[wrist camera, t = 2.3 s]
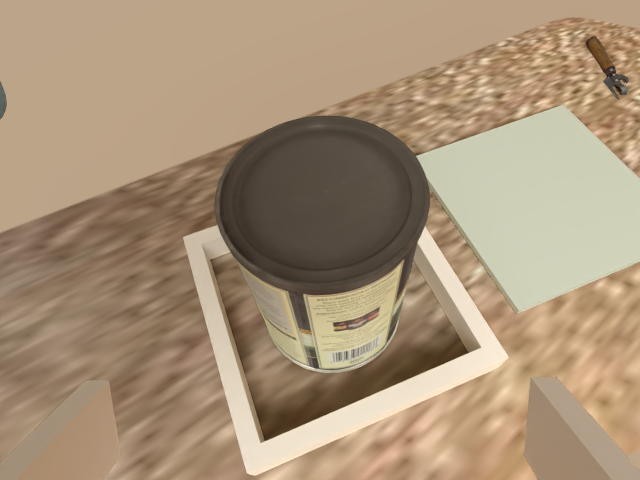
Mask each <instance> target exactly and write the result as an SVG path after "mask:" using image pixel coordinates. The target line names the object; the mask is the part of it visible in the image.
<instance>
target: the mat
mask: <svg viewBox="0 0 640 480" xmlns="http://www.w3.org/2000/svg"><path fill="white" fill-rule="evenodd" d="M416 157H417V159H418V160H419V162H420V164H421V166H422V168H423V170H424V172H425V175H426V178H427V181H428V186H429V188H430V189H431V191H432V192H433V193H434V195H435V196H436V198H437V199H438V201H439V202H440V204H441V205H442V207H443V208H444V209H445V211H446V212H447V214H448V215H449V217H450V218H451V220H452V221H453V223H454V224H455V226H456V227H457V228H458V230H459V231H460V233H461V234H462V236H463V237H464V239H465V240H466V242H467V243H468V245H469V246H470V247H471V249H472V250H473V252H474V253H475V255H476V256H477V258H478V259H479V261H480V262H481V263H482V265H483V266H484V268H485V269H486V271H487V272H488V274H489V275H490V277H491V278H492V280H493V281H494V282H495V284H496V285H497V287H498V288H499V290H500V291H501V293H502V294H503V296H504V297H505V298H506V300H507V301H508V303H509V304H510V306H511V307H512V309H513V310H514V312H515V313H516V314H518V313H520V312H523V311H525V310H527V309H530V308H532V307H534V306H537V305H539V304H542V303H544V302H546V301H549V300H551V299H553V298H556V297H558V296H560V295H563V294H565V293H567V292H570V291H572V290H574V289H577V288H579V287H581V286H584V285H586V284H588V283H591V282H593V281H595V280H598V279H600V278H602V277H605V276H607V275H610V274H612V273H614V272H617V271H619V270H621V269H624V268H626V267H628V266H631V265H633V264H635V263H638V262H640V179H639V178H638V177H637V176H636V175H635V174H634V173H633V172H632V171H631V170H630V169H629V168H628V167H627V166H626V165H625V164H624V163H623V162H622V161H621V160H620V159H619V158H618V157H617V156H616V155H615V154H614V153H612V152H611V151H610V150H609V149H608V148H607V147H606V146H605V145H604V144H603V143H602V142H601V141H600V140H599V139H598V138H597V137H596V136H595V135H594V134H593V133H592V132H591V131H590V130H589V129H588V128H587V127H586V126H585V125H584V124H582V123H581V122H580V121H579V120H578V119H577V118H576V117H575V116H574V115H573V114H572V113H571V112H570V111H569V110H568V109H567V108H566V107H565V106H564V105H561V106H558V107H555V108H552V109H549V110H546V111H543V112H541V113H538V114H535V115H532V116H529V117H526V118H523V119H520V120H518V121H515V122H512V123H509V124H506V125H503V126H500V127H498V128H495V129H492V130H489V131H486V132H483V133H480V134H478V135H475V136H472V137H469V138H466V139H463V140H460V141H458V142H455V143H452V144H449V145H446V146H443V147H440V148H437V149H435V150H432V151H429V152H426V153H423V154H420V155H417V156H416Z"/></svg>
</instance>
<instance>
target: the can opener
mask: <svg viewBox="0 0 640 480" xmlns="http://www.w3.org/2000/svg"><path fill="white" fill-rule="evenodd" d="M587 45H588V48H589V50H590V51H591V53H592V55H593V56H594V57H595V59H596V60H597V61H598V63H599V64H600V66H601V68H602V70H603V72H604V73H605V74H606V75H608V78H607V79H605V80H604V81H603V82H604V83H605V84H606V85H607V87H608V88H609V89H610V91H611V92H612V93H613V94H614V96H615V97H616V98H617V99H619V98H618V96H617V94H616V93H615V91H614V89H613V88H612V86H615V87H616V88H620V89H621V91H622V92H621V95H626V94H627V91H628V89H627V87H626V86H624V85H623V84H621V82H620V79H624V80H625V81H626V83H627V82H628V81H629V80H628V78H627V77H626V76H624V75H617V74H615V73H616V70H615V66H614V65H613V63H612V62H611V60H610V59H609V57H608V55H607V53H606V51H605V49H604V47H603V45H602V44H601V42H600V41H599V40H598V39H597V38H596V37H591V38H589V39H588V40H587ZM619 100H620V99H619Z"/></svg>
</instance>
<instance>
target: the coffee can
mask: <svg viewBox="0 0 640 480" xmlns="http://www.w3.org/2000/svg"><path fill="white" fill-rule="evenodd" d="M429 207H430V191H429V186H428V181H427V178H426V175H425V172H424V170H423V168H422V166H421V164H420V162H419V160H418V159H417V157H416V156H415V155H414V153H413V152H412V151H411V150H410V149H409V148H408V147H407V146H406V145H405V144H404V143H403V142H402V141H401V140H399V139H398V138H397V137H395V136H394V135H392V134H391V133H389V132H388V131H386V130H384V129H382V128H379V127H378V126H376V125H374V124H371V123H368V122H365V121H362V120H358V119H354V118H348V117H340V116H314V117H306V118H301V119H296V120H291V121H288V122H285V123H282V124H279V125H277V126H275V127H273V128H270V129H268V130H266V131H264V132H263V133H261V134H259V135H258V136H256V137H255V138H253V139H252V140H250V141H249V142H248V143H247V144H246V145H244V146H243V147H242V148H241V149H240V150H239V151H238V152H237V153H236V154H235V156H234V157H233V158H232V159H231V161H230V162H229V163H228V165H227V166H226V168H225V170H224V172H223V174H222V176H221V178H220V181H219V184H218V188H217V191H216V198H215V215H216V221H217V225H218V228H219V231H220V234H221V236H222V238H223V240H224V242H225V244H226V245H227V247H228V248H229V250H230V252H231V253H232V255H233V256H234V257H235V259H236V261H237V263H238V265H239V267H240V269H241V271H242V274H243V276H244V278H245V280H246V282H247V284H248V286H249V288H250V291H251V293H252V295H253V297H254V300H255V302H256V304H257V306H258V308H259V310H260V312H261V314H262V317H263V319H264V321H265V323H266V326H267V329H268V332H269V335H270V337H271V339H272V340H273V342H274V344H275V345H276V346H277V348H278V349H279V350H280V351H281V352H282V354H283V355H284V356H286V357H287V358H289V359H290V360H291V361H292V362H294V363H296V364H297V365H299V366H301V367H303V368H306V369H308V370H312V371H315V372H321V373H334V374H336V373H341V372H347V371H351V370H354V369H357V368H359V367H362V366H364V365H366V364H367V363H369V362H371V361H372V360H374V359H375V358H376V357H377V356H379V355H380V354H381V353H382V352H383V351H384V350H385V349H386V348H387V346H388V345H389V343H390V342H391V340H392V338H393V337H394V335H395V332H396V330H397V327H398V323H399V318H400V311H401V306H402V303H403V298H404V294H405V290H406V286H407V282H408V278H409V274H410V271H411V268H412V263H413V259H414V255H415V251H416V247H417V243H418V240H419V238H420V237H421V234H422V232H423V230H424V227H425V224H426V221H427V218H428V213H429Z"/></svg>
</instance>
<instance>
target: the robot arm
mask: <svg viewBox="0 0 640 480" xmlns="http://www.w3.org/2000/svg"><path fill="white" fill-rule="evenodd" d="M5 110H6V95H5V93H4V89H3V87H2V84H1V82H0V119H1V118H2V117H3V115H4V112H5ZM120 455H121V453H120V447H119V440H118V434H117V428H116V422H115V416H114V410H113V404H112V398H111V391H110V385H109V380H99V381H84V382H83V383H82V384H81V385H80V386H79V387H78V388H77V389H76V390H75V391H74V392H73V393H72V394H71V395H70V396H69V397H68V398H67V399H66V400H65V401H64V402H63V403H62V404H61V405H60V406H59V407H58V408H56V409H55V410H54V411H53V412H52V413H51V414H50V415H49V416H48V417H47V418H46V419H45V420H44V421H43V422H42V423H41V424H40V425H39V426H38V427H37V428H36V429H35V430H34V431H33V432H32V433H31V434H30V435H29V436H28V437H27V438H25V439H24V440H23V441H22V442H21V443H20V444H19V445H18V446H17V447H16V448H15V449H14V450H13V451H12V452H11V453H10V454H9V455H8V456H7V457H6V458H5V459H4V460H3V461H2V462H1V463H0V480H104V479H105V477H106V476H107V474H108V473H109V471H110V470H111V468H112V467H113V466H114V464H115V463H116V461H117V460H118V458H119V457H120ZM524 456H525V458H526V460H527V462H528V463H529V465H530V467H531V469H532V470H533V472H534V474H535V475H536V477H537V479H538V480H640V470H639V468H638V467H637V466H636V465H635V464H634V463H633V462H632V461H631V460H630V458H629V457H628V456H627V455H626V454H625V453H624V452H623V451H622V450H621V448H620V447H619V446H618V445H617V444H616V443H615V442H614V441H613V439H612V438H611V437H610V436H609V435H608V434H607V433H606V432H605V431H604V429H603V428H602V427H601V426H600V425H599V424H598V423H597V422H596V421H595V419H594V418H593V417H592V416H591V415H590V414H589V413H588V412H587V410H586V409H585V408H584V407H583V406H582V405H581V404H580V403H579V402H578V400H577V399H576V398H575V397H574V396H573V395H572V394H571V393H570V392H569V390H568V389H567V388H566V387H565V386H564V385H563V384H562V383H561V382H560V380H559V379H558V378H557V377H531V379H530V390H529V402H528V413H527V425H526V436H525V448H524Z"/></svg>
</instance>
